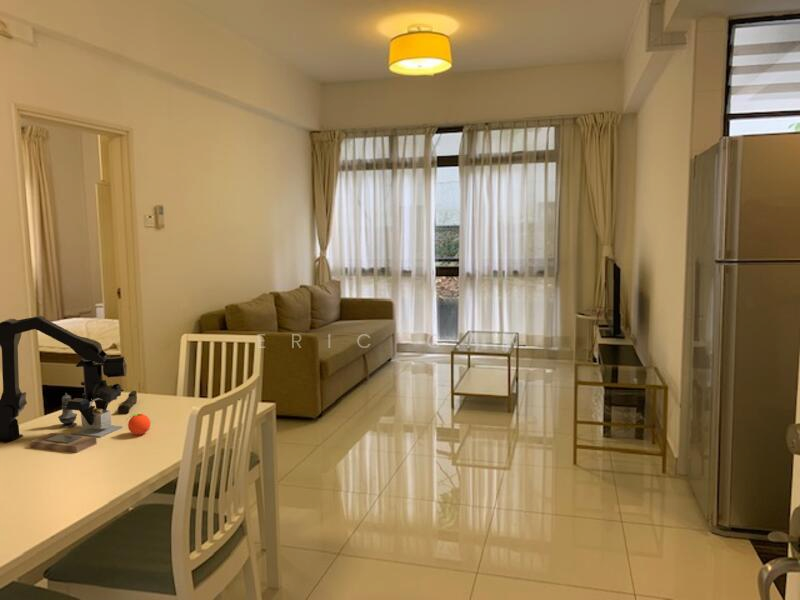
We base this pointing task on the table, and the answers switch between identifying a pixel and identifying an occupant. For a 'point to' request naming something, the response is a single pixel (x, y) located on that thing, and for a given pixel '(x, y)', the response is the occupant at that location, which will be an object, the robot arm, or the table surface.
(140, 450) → the table surface
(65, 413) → the weathered candle holder
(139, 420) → the tomato
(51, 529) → the table surface
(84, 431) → the rubber mat
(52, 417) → the table surface
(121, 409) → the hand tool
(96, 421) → the lever cap
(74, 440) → the body
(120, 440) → the table surface
